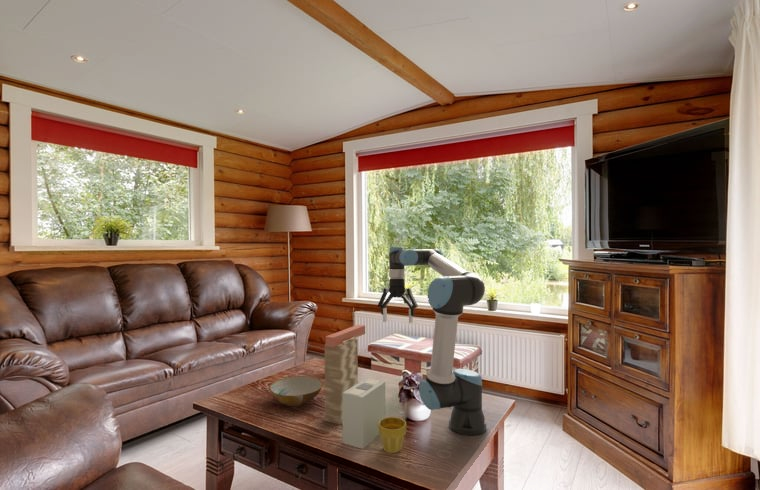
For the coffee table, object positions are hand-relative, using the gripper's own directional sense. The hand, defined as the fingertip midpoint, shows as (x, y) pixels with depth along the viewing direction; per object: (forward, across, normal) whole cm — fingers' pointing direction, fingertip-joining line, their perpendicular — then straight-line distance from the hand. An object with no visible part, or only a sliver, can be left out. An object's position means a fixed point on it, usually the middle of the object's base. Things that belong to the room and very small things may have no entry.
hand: (397, 322), depth 195 cm
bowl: (+38, +45, +20) cm, 62 cm away
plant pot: (+42, -14, +40) cm, 59 cm away
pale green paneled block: (+41, 0, +35) cm, 54 cm away
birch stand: (+39, +17, +24) cm, 49 cm away
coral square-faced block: (+6, +16, +23) cm, 28 cm away
